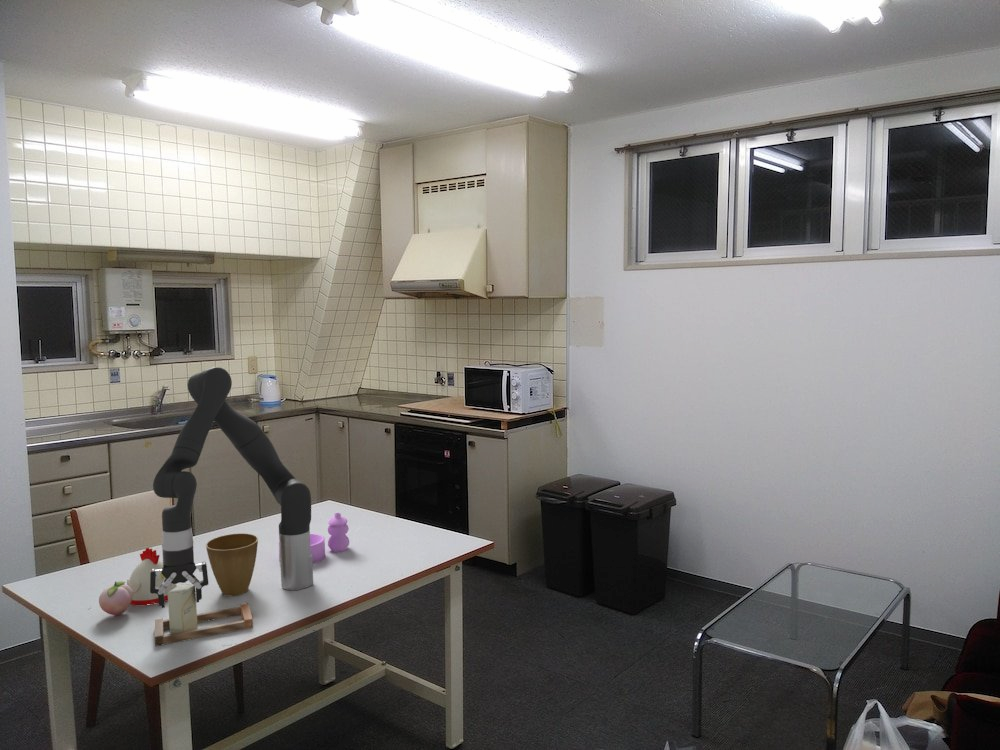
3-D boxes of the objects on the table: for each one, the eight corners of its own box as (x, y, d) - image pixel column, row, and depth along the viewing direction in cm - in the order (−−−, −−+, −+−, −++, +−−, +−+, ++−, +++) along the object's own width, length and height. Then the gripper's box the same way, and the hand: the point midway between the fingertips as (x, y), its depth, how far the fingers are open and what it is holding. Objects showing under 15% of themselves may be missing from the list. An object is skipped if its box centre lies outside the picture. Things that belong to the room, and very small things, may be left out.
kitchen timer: (145, 609, 212) (142, 559, 210) (116, 600, 218) (112, 551, 217) (186, 592, 224) (183, 544, 222) (157, 584, 231) (154, 538, 229)
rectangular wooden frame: (248, 611, 209) (247, 603, 209) (252, 627, 199) (252, 618, 198) (155, 628, 199) (154, 619, 198) (155, 646, 188) (154, 636, 188)
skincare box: (184, 637, 193) (181, 593, 192) (169, 636, 194) (166, 592, 193) (198, 627, 199) (196, 584, 198) (183, 626, 200) (181, 583, 199)
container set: (290, 569, 242) (288, 530, 241) (272, 557, 254) (271, 520, 253) (358, 552, 257) (357, 516, 256) (338, 542, 269) (337, 507, 268)
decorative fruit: (105, 610, 211) (103, 577, 210) (136, 607, 213) (134, 574, 212) (95, 624, 202) (93, 589, 201) (127, 621, 204) (125, 586, 203)
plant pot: (205, 588, 226) (202, 538, 225) (255, 579, 234) (252, 530, 232) (212, 605, 213) (209, 552, 212) (265, 595, 221) (262, 543, 219)
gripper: (205, 537, 201) (208, 594, 202) (148, 544, 195) (151, 603, 196) (207, 545, 194) (209, 604, 195) (147, 553, 188) (150, 614, 190)
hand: (180, 604), depth 196 cm, fingers open, 8 cm apart
